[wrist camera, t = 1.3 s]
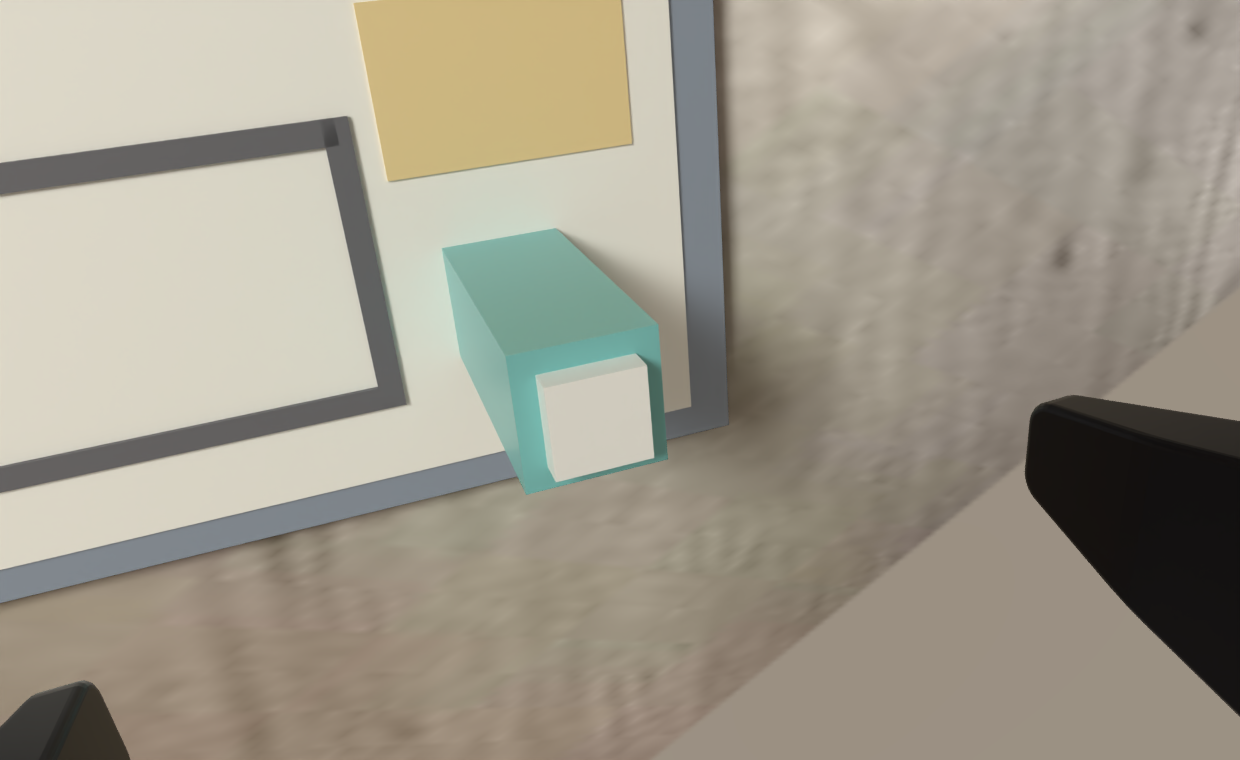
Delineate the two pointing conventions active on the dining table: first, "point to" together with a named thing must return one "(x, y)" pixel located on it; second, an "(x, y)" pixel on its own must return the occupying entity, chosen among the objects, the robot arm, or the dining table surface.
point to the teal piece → (557, 358)
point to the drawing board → (314, 249)
